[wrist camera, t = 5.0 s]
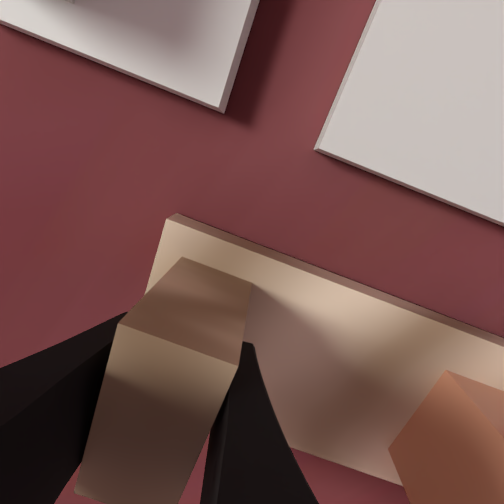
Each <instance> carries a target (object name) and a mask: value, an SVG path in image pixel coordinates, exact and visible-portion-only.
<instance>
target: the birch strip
mask: <svg viewBox="0 0 504 504" xmlns="http://www.w3.org/2000/svg"><path fill="white" fill-rule="evenodd" d="M242 341H245V342H249V343H253V345H254V347H255V350H256V355H257V360H258V364H259V368H260V371H261V374H262V378H263V381H264V384H265V387H266V390H267V393H268V396H269V398H270V401H271V404H272V407H273V409H274V412H275V414H276V417H277V419H278V422H279V424H280V426H281V429H282V431H283V434H284V436H285V438H286V440H287V443H288V445H289V447H292V448H294V449H297V450H300V451H303V452H306V453H309V454H312V455H315V456H318V457H320V458H323V459H326V460H329V461H332V462H335V463H338V464H341V465H343V466H346V467H349V468H352V469H355V470H358V471H361V472H364V473H367V474H369V475H372V476H375V477H378V478H381V479H384V480H387V481H390V482H392V483H395V484H398V485H401V486H403V485H402V482H401V480H400V478H399V475H398V473H397V470H396V468H395V465H394V463H393V460H392V458H391V456H390V453H389V451H388V448H389V447H390V445H391V444H392V443H393V441H394V440H395V438H396V437H397V436H398V434H399V433H400V432H401V430H402V429H403V427H404V426H405V425H406V423H407V422H408V421H409V419H410V418H411V417H412V415H413V414H414V412H415V411H416V410H417V408H418V407H419V406H420V404H421V403H422V401H423V400H424V399H425V397H426V396H427V395H428V393H429V392H430V390H431V389H432V388H433V386H434V385H435V384H436V382H437V381H438V380H439V378H440V377H441V375H442V374H443V373H444V371H445V370H448V371H451V372H453V373H456V374H459V375H461V376H464V377H467V378H470V379H472V380H475V381H478V382H480V383H483V384H486V385H488V386H491V387H494V388H496V389H499V390H502V391H504V338H502V337H499V336H497V335H494V334H491V333H489V332H486V331H484V330H481V329H478V328H476V327H473V326H470V325H468V324H465V323H463V322H460V321H457V320H455V319H452V318H450V317H447V316H444V315H442V314H439V313H436V312H434V311H431V310H429V309H426V308H423V307H421V306H418V305H415V304H413V303H410V302H408V301H405V300H402V299H400V298H397V297H395V296H392V295H389V294H387V293H384V292H381V291H379V290H376V289H374V288H371V287H368V286H366V285H363V284H361V283H358V282H355V281H353V280H350V279H347V278H345V277H342V276H340V275H337V274H334V273H332V272H329V271H326V270H324V269H321V268H319V267H316V266H313V265H311V264H308V263H306V262H303V261H300V260H298V259H295V258H292V257H290V256H287V255H285V254H282V253H279V252H277V251H274V250H272V249H269V248H266V247H264V246H261V245H258V244H256V243H253V242H251V241H248V240H245V239H243V238H240V237H238V236H235V235H232V234H230V233H227V232H224V231H222V230H219V229H217V228H214V227H211V226H209V225H206V224H203V223H201V222H198V221H196V220H193V219H190V218H188V217H185V216H183V215H180V214H177V213H176V214H174V215H172V216H171V217H169V218H167V219H166V222H165V226H164V229H163V233H162V236H161V240H160V243H159V247H158V250H157V254H156V257H155V261H154V264H153V268H152V271H151V275H150V278H149V282H148V285H147V289H146V292H145V295H144V296H143V298H142V299H141V300H140V301H139V302H138V303H137V304H136V305H135V306H134V307H133V308H132V309H131V310H130V311H129V312H128V313H127V314H126V315H125V316H124V317H123V318H122V319H121V320H120V321H119V323H118V325H117V329H116V332H115V336H114V340H113V344H112V348H111V352H110V355H109V359H108V363H107V367H106V371H105V375H104V379H103V382H102V386H101V390H100V394H99V398H98V402H97V405H96V409H95V413H94V417H93V421H92V425H91V428H90V432H89V436H88V440H87V444H86V448H85V451H84V455H83V459H82V463H81V467H80V471H79V474H78V478H77V482H76V486H75V490H74V493H75V494H78V495H82V496H85V497H88V498H91V499H94V500H97V501H100V502H103V503H106V504H178V502H179V500H180V498H181V495H182V493H183V491H184V488H185V486H186V484H187V482H188V479H189V477H190V475H191V473H192V470H193V468H194V466H195V464H196V461H197V459H198V457H199V454H200V452H201V450H202V448H203V445H204V443H205V441H206V439H207V436H208V434H209V432H210V430H211V427H212V425H213V423H214V421H215V418H216V416H217V414H218V411H219V409H220V407H221V405H222V402H223V400H224V398H225V396H226V393H227V391H228V389H229V387H230V384H231V382H232V380H233V377H234V375H235V373H236V371H237V368H238V366H239V360H240V353H241V347H242Z"/></svg>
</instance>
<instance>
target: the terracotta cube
mask: <svg viewBox="0 0 504 504" xmlns="http://www.w3.org/2000/svg"><path fill="white" fill-rule="evenodd" d="M388 451H389V453H390V456H391V458H392V460H393V463H394V465H395V468H396V470H397V473H398V475H399V478H400V480H401V482H402V485H403V487H404V490H405V492H406V495H407V497H408V499H409V502H410V504H504V391H502V390H499V389H496V388H494V387H491V386H488V385H486V384H483V383H480V382H478V381H475V380H472V379H470V378H467V377H464V376H461V375H459V374H456V373H453V372H451V371H448V370H445V371H444V373H443V374H442V375H441V377H440V378H439V380H438V381H437V382H436V384H435V385H434V386H433V388H432V389H431V390H430V392H429V393H428V395H427V396H426V397H425V399H424V400H423V401H422V403H421V404H420V406H419V407H418V408H417V410H416V411H415V412H414V414H413V415H412V417H411V418H410V419H409V421H408V422H407V423H406V425H405V426H404V427H403V429H402V430H401V432H400V433H399V434H398V436H397V437H396V438H395V440H394V441H393V443H392V444H391V445H390V447H389V448H388Z"/></svg>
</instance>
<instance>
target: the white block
mask: <svg viewBox="0 0 504 504" xmlns="http://www.w3.org/2000/svg"><path fill="white" fill-rule="evenodd" d="M259 1H260V0H0V24H3V25H5V26H8V27H10V28H13V29H15V30H18V31H20V32H23V33H25V34H27V35H30V36H32V37H35V38H37V39H40V40H42V41H45V42H47V43H50V44H52V45H55V46H57V47H60V48H62V49H65V50H67V51H70V52H72V53H75V54H77V55H80V56H82V57H85V58H87V59H89V60H92V61H94V62H97V63H99V64H102V65H104V66H107V67H109V68H112V69H114V70H117V71H119V72H122V73H124V74H127V75H129V76H132V77H134V78H137V79H139V80H142V81H144V82H146V83H149V84H151V85H154V86H156V87H159V88H161V89H164V90H166V91H169V92H171V93H174V94H176V95H179V96H181V97H184V98H186V99H189V100H191V101H194V102H196V103H199V104H201V105H203V106H206V107H208V108H211V109H213V110H216V111H218V112H221V113H223V114H224V112H225V109H226V106H227V103H228V100H229V96H230V93H231V90H232V87H233V84H234V80H235V77H236V74H237V71H238V68H239V64H240V61H241V58H242V55H243V52H244V48H245V45H246V42H247V39H248V36H249V33H250V29H251V26H252V23H253V20H254V17H255V13H256V10H257V7H258V4H259ZM314 150H315V151H318V152H320V153H322V154H325V155H327V156H330V157H332V158H335V159H337V160H340V161H342V162H345V163H347V164H350V165H352V166H355V167H357V168H360V169H362V170H365V171H367V172H370V173H372V174H375V175H377V176H379V177H382V178H384V179H387V180H389V181H392V182H394V183H397V184H399V185H402V186H404V187H407V188H409V189H412V190H414V191H417V192H419V193H422V194H424V195H427V196H429V197H432V198H434V199H436V200H439V201H441V202H444V203H446V204H449V205H451V206H454V207H456V208H459V209H461V210H464V211H466V212H469V213H471V214H474V215H476V216H479V217H481V218H484V219H486V220H489V221H491V222H493V223H496V224H498V225H501V226H503V227H504V0H376V2H375V5H374V7H373V9H372V12H371V14H370V16H369V19H368V21H367V24H366V26H365V28H364V31H363V33H362V35H361V38H360V40H359V43H358V45H357V47H356V50H355V52H354V55H353V57H352V59H351V62H350V64H349V66H348V69H347V71H346V74H345V76H344V78H343V81H342V83H341V86H340V88H339V90H338V93H337V95H336V97H335V100H334V102H333V105H332V107H331V109H330V112H329V114H328V116H327V119H326V121H325V124H324V126H323V128H322V131H321V133H320V136H319V138H318V140H317V143H316V145H315V147H314Z"/></svg>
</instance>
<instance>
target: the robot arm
mask: <svg viewBox="0 0 504 504" xmlns="http://www.w3.org/2000/svg"><path fill="white" fill-rule="evenodd" d="M127 313H128V312H125V313H122V314H120V315H118V316H116V317H114V318H112V319H109V320H107V321H105V322H103V323H101V324H99V325H97V326H95V327H93V328H91V329H89V330H87V331H85V332H82V333H80V334H78V335H76V336H74V337H72V338H70V339H68V340H65V341H63V342H61V343H59V344H57V345H54V346H52V347H50V348H47V349H45V350H43V351H40V352H38V353H35V354H33V355H31V356H28V357H26V358H24V359H21V360H19V361H17V362H14V363H12V364H9V365H7V366H4V367H2V368H0V504H54V503H55V501H56V499H57V498H58V496H59V495H60V493H61V491H62V490H63V488H64V487H65V485H66V484H67V482H68V481H69V479H70V478H71V476H72V475H73V473H74V472H75V470H76V469H77V467H78V466H79V465H80V463H81V462H82V459H83V455H84V451H85V448H86V444H87V440H88V436H89V432H90V428H91V425H92V421H93V417H94V413H95V409H96V405H97V402H98V398H99V394H100V390H101V386H102V382H103V379H104V375H105V371H106V367H107V363H108V359H109V355H110V352H111V348H112V344H113V340H114V336H115V332H116V329H117V325H118V323H119V321H120V320H121V319H122V318H123V317H124V316H125V315H126V314H127ZM200 504H319V503H318V501H317V499H316V498H315V496H314V494H313V492H312V490H311V488H310V487H309V485H308V483H307V481H306V479H305V477H304V475H303V473H302V471H301V469H300V467H299V465H298V463H297V461H296V459H295V457H294V455H293V453H292V451H291V449H290V447H289V445H288V443H287V440H286V438H285V436H284V434H283V431H282V429H281V426H280V424H279V422H278V419H277V417H276V414H275V412H274V409H273V407H272V404H271V401H270V398H269V396H268V393H267V390H266V387H265V384H264V381H263V378H262V374H261V371H260V368H259V364H258V360H257V355H256V350H255V347H254V345H253V343H249V342H245V341H242V347H241V353H240V360H239V366H238V368H237V371H236V373H235V375H234V377H233V380H232V382H231V384H230V387H229V389H228V391H227V393H226V396H225V398H224V400H223V402H222V405H221V407H220V409H219V411H218V414H217V416H216V418H215V421H214V423H213V425H212V427H211V430H210V437H209V444H208V451H207V458H206V465H205V472H204V479H203V486H202V493H201V500H200Z"/></svg>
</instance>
